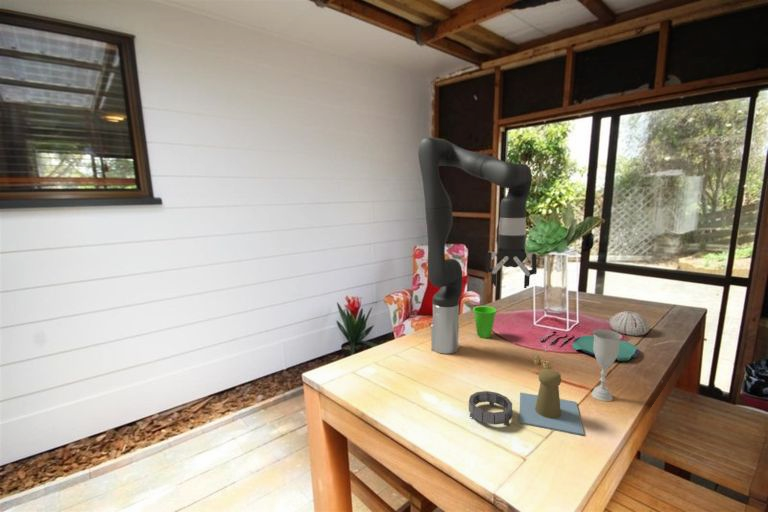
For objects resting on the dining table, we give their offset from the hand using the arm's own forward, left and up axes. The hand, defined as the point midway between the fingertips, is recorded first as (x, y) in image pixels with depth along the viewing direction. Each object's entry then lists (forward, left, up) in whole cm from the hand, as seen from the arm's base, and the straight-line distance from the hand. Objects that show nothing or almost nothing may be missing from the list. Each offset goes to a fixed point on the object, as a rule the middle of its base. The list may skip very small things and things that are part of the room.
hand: (510, 286), depth 107 cm
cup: (-10, +29, -28) cm, 42 cm away
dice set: (+10, +11, -29) cm, 32 cm away
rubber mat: (+11, -18, -28) cm, 35 cm away
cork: (+11, -18, -28) cm, 35 cm away
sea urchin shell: (+44, +52, -28) cm, 74 cm away
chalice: (+25, -5, -28) cm, 38 cm away
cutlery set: (+27, +31, -29) cm, 50 cm away
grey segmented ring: (-3, -24, -28) cm, 37 cm away
